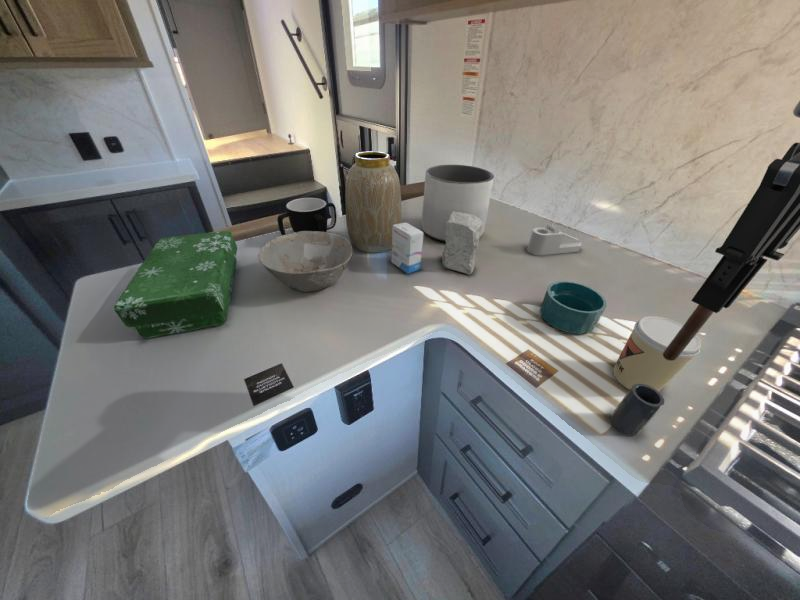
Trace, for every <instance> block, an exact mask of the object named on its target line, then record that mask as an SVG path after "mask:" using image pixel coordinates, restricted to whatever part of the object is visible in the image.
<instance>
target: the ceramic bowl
mask: <svg viewBox="0 0 800 600" xmlns="http://www.w3.org/2000/svg"><path fill="white" fill-rule="evenodd" d="M297 233H298V234H297ZM297 233H296V232H291V233H286V235H280V236H277V237H275V238H272V239H270V240H269V241H267V242H266V243H265V244H264V245H263V246H262V247H261V249H260V251H258V255H257V259H258V261H259V263H260V264H261V265H262V266H263V267H264V268H265V270H267V271H268V272H269V273H270V274H271V275H272V276H273V277H275V279H277V280H278V281H279V282H281V283H282V284H284V285H286V286H288V287H290V288H292V289H294V290H296V291H299V292H305V293H308V292H316V291H319V290H323V289H327V288H329V287H332V286H333V285H335V284H336V283H337V282H338V280H339V279H340V278H341V276H342V275H343V273H344V272H345V271H346V268H347V266H348V264H349V262H350V260H351V258H352V255H353V247H352V243H351V242H350V241H349V240H348V238H346V237H345V236H343V235H339V234H336V233H332V232H328V231H327V232H319V231H300V232H297Z"/></svg>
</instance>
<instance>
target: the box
mask: <svg viewBox="0 0 800 600" xmlns="http://www.w3.org/2000/svg"><path fill="white" fill-rule="evenodd" d="M237 252H238V245H237V243H236V240H235V237H234V235H233V233H232V232H231V231H230V230H222V231H214V232H213V231H212V232H202V233H195V234H186V235H185V234H184V235H177V236H167V237H161V238H159V239H158V240H157V241H156V243H155V245H154V246H153V247H152V249H151V250H150V251H149V253H148V255H147V256H146V257H145V259H144V260H143V261H142V264H141V265H140V267H139V268H138V269H137V271H136V272H135V274H134V276H133V277H132V278H131V279H130V281H129V283H128V284H127V286H126V287H125V289H124V291H123V292H122V293H121V295H120V296H119V298H118V299H117V300H116V302H115V304H114V305H113V310H114V312H115V314H116V315H117V316H118V317H119V319H120V320H121V322H122V323H123V324H124V326H126V327H128V328H135V330H136V332H137V333H138V335H139V336H140V337H141V338H142V339H150V338H155V337H160V336H166V335H172V334H173V335H174V334H178V333H184V332H190V331H196V330H200V329H207V328H211V327H218V326H223V325H224V324H225V323H227V318H228V312H229V308H230V304H231V299H232V298H231V297H232V293H233V292H232V291H233V287H234V282H235V281H234V280H235V275H236V270H237V269H236V268H237V263H238V262H237V261H238V260H237V257H236V256H237Z"/></svg>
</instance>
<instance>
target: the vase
mask: <svg viewBox="0 0 800 600" xmlns="http://www.w3.org/2000/svg"><path fill="white" fill-rule="evenodd" d="M390 159H391V156H390V154H389V153H387V152H382V151H361V152H357V153H355V155H354V163H353V165H352V166H351V167H350V168H349V170H348V173H347V175H346V179H345V188H344V189H345V191H344V193H345V194H344V201H345V202H344V203H345V204H344V205H345V221H346V223H345V224H346V230H347V235H348V238H349V239H350V241H351V244H352V245H353V246H354V247H355V248H356V249H357V250H359V251H362V252H365V253H373V254H375V253H383V252H386V251H389V250H392V228H393V225H395V224H400V223H402V191H401V183H400V177H399V174H398V172H397V170H396V169H395V167H394V166H393V165H392V164H391V163H390Z"/></svg>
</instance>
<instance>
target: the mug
mask: <svg viewBox="0 0 800 600" xmlns="http://www.w3.org/2000/svg"><path fill="white" fill-rule="evenodd" d="M285 208H286V212H284V213H281V214H278V216H277V226H278V230H279V233H280V236H282V235H286V234H287V232H286V229H285V223H284V219H286V218H288V221H289V224H290V226H291V229H292V233H294V232H296V233H297V232H300V231H319V232H328V231H331V230H332V229H334V228H335V226H336V224H337V209H336V205H335V203H333V202H327V201H325V200H324V199H321V198H318V197H301V198H300V197H299V198H296V199H292V200H290V201H289V202H287V203H286V205H285ZM328 208H330V216H331V217H330V223H328ZM297 234H298V233H297Z"/></svg>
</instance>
